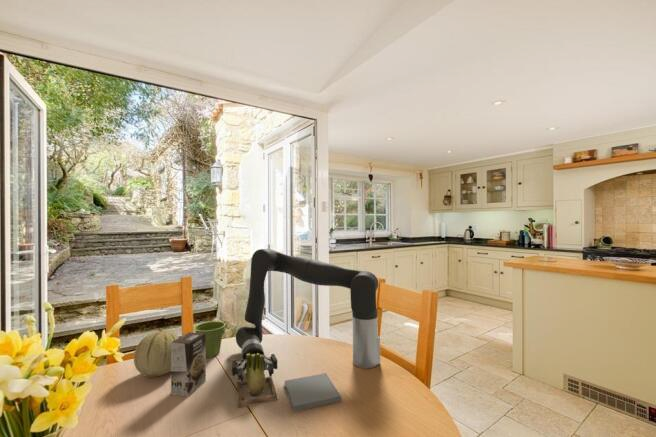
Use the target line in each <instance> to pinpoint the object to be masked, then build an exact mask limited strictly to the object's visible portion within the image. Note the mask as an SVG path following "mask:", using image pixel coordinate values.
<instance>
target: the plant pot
mask: <svg viewBox="0 0 656 437" xmlns="http://www.w3.org/2000/svg"><path fill="white" fill-rule="evenodd" d="M225 327H226V322H224V321H219V320H217V321H216V320H215V321H205V322H201V323H199V324H196V325H195V326H194V327H193V330H194V331H195V333H206V358H212V357H216V356H217V355H218V354H220V352H221V346H222V340H223V333H224V329H225Z"/></svg>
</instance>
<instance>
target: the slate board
mask: <svg viewBox="0 0 656 437" xmlns="http://www.w3.org/2000/svg"><path fill="white" fill-rule="evenodd" d="M284 387H285V389H286V393H287V395H288V399H289V401H290V404H291V407H292V410H293V412H298V411H302V410H307V409H312V408H316V407H321V406H326V405H329V404H330V405H331V404H334V403H339V402H342V396H341V394H340V392H339V391H338V389H337V388H336V386H335V384H334V383H333V381H332V380H331V378H330V377H329V375H328V374H327V372H325V373H320V374H319V373H318V374H313V375H308V376H302V377H297V378H292V379H291V378H290V379H286V380H284Z"/></svg>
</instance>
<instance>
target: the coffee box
mask: <svg viewBox="0 0 656 437" xmlns="http://www.w3.org/2000/svg"><path fill="white" fill-rule="evenodd" d="M206 359H207V357H206V333H196V332H187V333H186V334H184V335H182V336H180V337H179V338H178V339H176V340H175V341H173V342H171V371H170V394H171V395H172V396H173V395H175V396H181V397H190V396H191V395H192V394H193V393H194V392H195V391H196V390H197V389H199V388H200V387H201V386H202V385H203V384H204V383H206V382H207V380H206V378H207V377H206V376H207V374H206V372H207V371H206V370H207V369H206V368H207V367H206V366H207V364H206V363H207V361H206Z"/></svg>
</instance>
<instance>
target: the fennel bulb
mask: <svg viewBox="0 0 656 437" xmlns="http://www.w3.org/2000/svg"><path fill="white" fill-rule="evenodd" d="M255 360H256V362H255ZM246 363H247V366H246V374H245V377H246V378H245V381H246V380H247V389H248V392H249V394H250V395H251V396H254V397H256V396H259V395H261V394H262V393H263V392H264V391H266V384H267V382H265V377H266V375H265V371H264V356H263V355H260V354H259V353H257V355H255V354H252V355H250V354H246ZM255 363H256V366H255Z"/></svg>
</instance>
